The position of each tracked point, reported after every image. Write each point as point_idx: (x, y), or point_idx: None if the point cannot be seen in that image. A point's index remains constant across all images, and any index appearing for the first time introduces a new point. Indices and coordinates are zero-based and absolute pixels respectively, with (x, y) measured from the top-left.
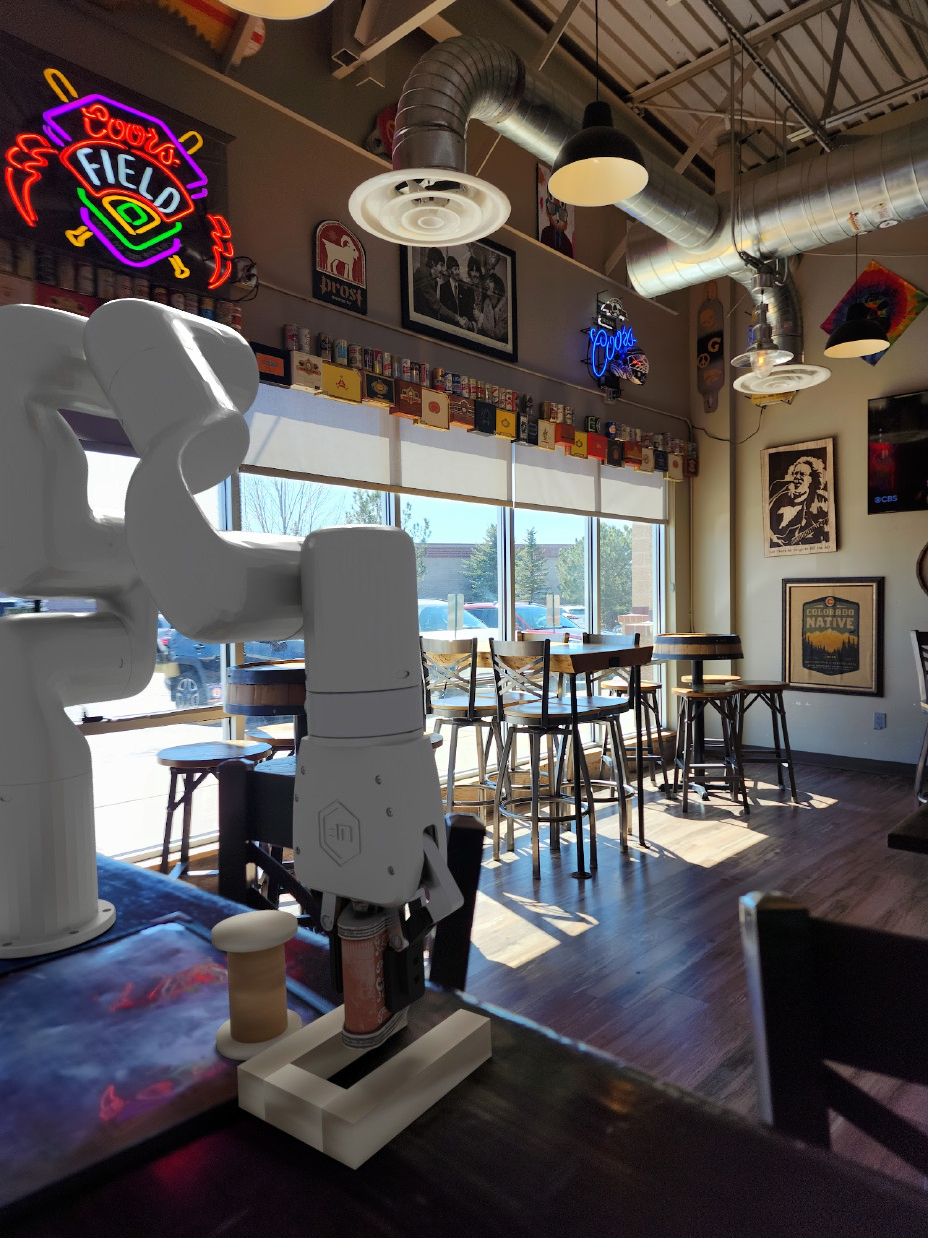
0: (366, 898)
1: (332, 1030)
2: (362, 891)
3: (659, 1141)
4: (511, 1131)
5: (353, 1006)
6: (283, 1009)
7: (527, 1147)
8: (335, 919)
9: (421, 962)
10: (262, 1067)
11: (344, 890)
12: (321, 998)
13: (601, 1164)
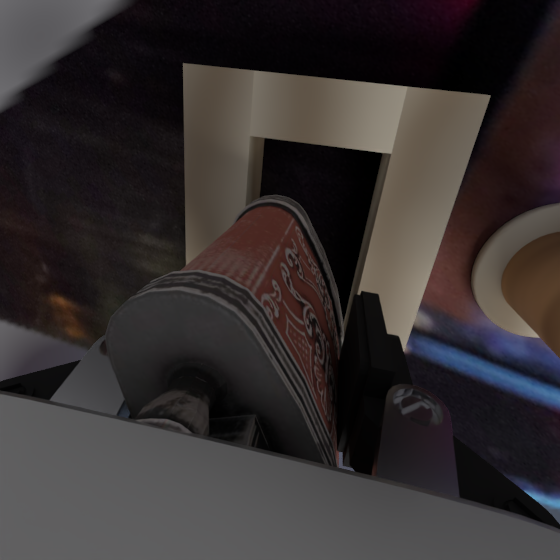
0: (35, 413)
1: (378, 267)
2: (33, 448)
3: (5, 269)
4: (111, 227)
5: (251, 219)
6: (518, 301)
7: (83, 210)
8: (382, 414)
9: None
10: (434, 118)
11: (186, 464)
12: (499, 385)
13: (19, 218)
